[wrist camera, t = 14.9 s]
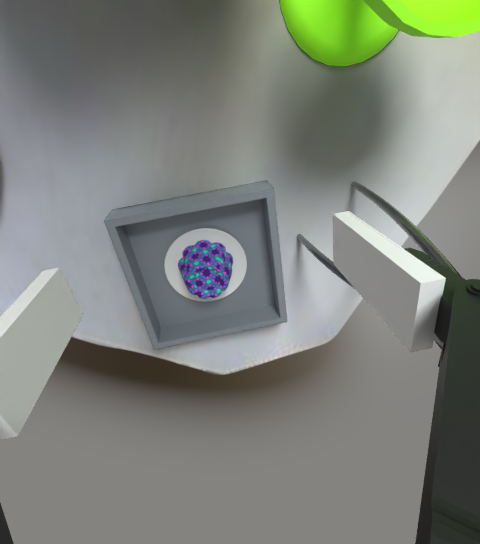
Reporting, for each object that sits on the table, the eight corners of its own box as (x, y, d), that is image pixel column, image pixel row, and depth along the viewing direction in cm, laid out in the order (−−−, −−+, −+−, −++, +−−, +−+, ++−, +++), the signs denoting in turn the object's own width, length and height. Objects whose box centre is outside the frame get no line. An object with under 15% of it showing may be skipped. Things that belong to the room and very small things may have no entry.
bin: (112, 209, 41) (103, 220, 37) (266, 180, 42) (273, 188, 38) (157, 330, 52) (154, 349, 48) (280, 305, 52) (287, 321, 48)
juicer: (355, 180, 44) (596, 292, 17) (362, 249, 49) (553, 413, 23) (289, 201, 44) (428, 343, 18) (303, 267, 49) (425, 451, 23)
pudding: (261, 253, 46) (269, 269, 42) (217, 310, 50) (220, 331, 46) (192, 210, 42) (191, 222, 37) (149, 276, 46) (144, 295, 41)
